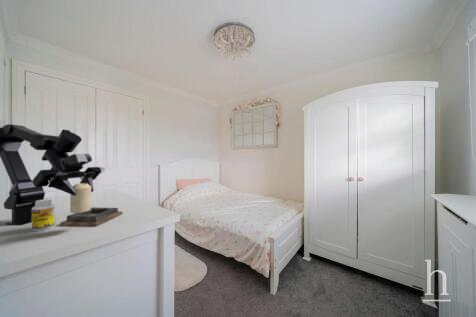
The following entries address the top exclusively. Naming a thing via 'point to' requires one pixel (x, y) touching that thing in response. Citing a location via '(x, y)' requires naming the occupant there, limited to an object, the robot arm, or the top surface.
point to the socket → (91, 217)
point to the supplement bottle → (43, 215)
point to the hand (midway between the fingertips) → (84, 192)
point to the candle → (81, 198)
